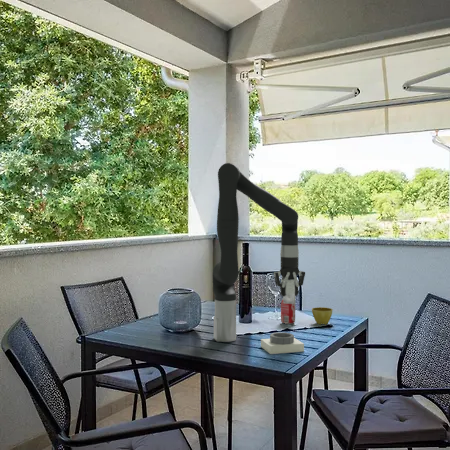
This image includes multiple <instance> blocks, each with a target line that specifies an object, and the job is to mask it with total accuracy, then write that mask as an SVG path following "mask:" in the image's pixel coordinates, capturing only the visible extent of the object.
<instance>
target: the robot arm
mask: <svg viewBox="0 0 450 450" xmlns="http://www.w3.org/2000/svg"><path fill="white" fill-rule="evenodd" d="M217 179H218V180H217V182H218V205H217V215H216V216H217V217H216V218H217V219H216V233H217V240H218V243H219V247H220V262H219V261H218V263H216V264H215V265H214V267H213V269H212V290H213V294H214V316H213V340H215V341H216V342H218V343H219V342H221V343H222V342H223V343H226V342H227V343H228V342H229V343H230V342H234V341H236V340H237V293H236V291H235V288H234V283H236V282H237V280H238V277H239V274H240V273H239V257H238V256H239V255H238V247H239V244H238V243H239V224H240V223H239V222H240V221H239V216H240V215H239V209H238V200H237V199H238V197H237V194H238V193H237V192H240V193H242V194H243V195H245V196H246V197H247V198H249V199H251V201H253V202H254V203H255V204H256V205H258V206H259V207H260V208H262V209H263V210H265V211H266V212H268V213H269V214H271V215H273V216H274V217H275V218H277V219H278V220H279V221H281V240H280V243H281V245H280V270H279V271H274V272H273V277H274V282H275V286H277V287H279V288H280V289H279V292H280V293H279V294H280V296H281V297H283V296H285V288H284V287H285V284H286V282H287V280H288V279H294V280H295V297H297V296H298V295H299V287H301V286H303V285H304V281H305V277H306V272H305V271H303V270H300V269H299V258H300V257H299V253H300V252H299V236H298V223H299V222H298V221H299V213H298V212H297V211H296V210H295V209H293V208H292V207H291V206H289V205H288V204H286V203H284V202H282V201H281V200H280V199H279V198H277V196H275V195H274V194H272V193H271V192H269V191H267V190H266V189H264V188H263V187H261V186H259V185H257V184H256V183H254V182H252V180H250V179H248V178H247V176H245V175H244V174H243V173H242V172H241V171H240V169H239V168H238V167H237V165H235V164H233V163H232V162H225V163H224V164H223V163H222V165H221V166H220V167H219V169H218V170H217ZM280 276H282V277H281V279H280ZM298 276H299V278H297V277H298ZM283 279H284V280H283Z"/></svg>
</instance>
